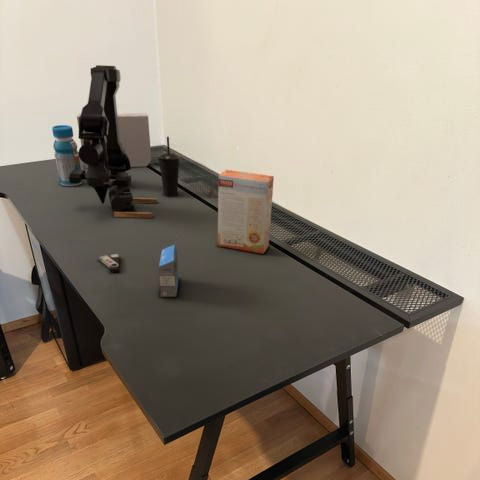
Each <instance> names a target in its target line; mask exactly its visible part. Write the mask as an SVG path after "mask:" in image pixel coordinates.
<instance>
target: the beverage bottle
mask: <svg viewBox="0 0 480 480" xmlns="http://www.w3.org/2000/svg"><path fill="white" fill-rule="evenodd" d="M51 130H52V137H53V138H54V139H55V140H54V142H53V147H52V148H53V150H54V158H55V163H56V168H57V173H58V178H59V183H60V185H62V186H64V187H78V186H80V185H82V184H83V181H84V180H82V179H81V182H80V183H79V184H78V183H69V178H68V177H69V174H70V173H71V172H72V171H73V170H74V169H76V170H82V168H81V159H80V158H79V154H78V152H79V150H78V144H77V143H76V141H75V140H74V138H73V137H74V130H73V126H71V125H67V124H58V125H54V126H52V128H51Z"/></svg>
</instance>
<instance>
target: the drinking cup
mask: <svg viewBox="0 0 480 480" xmlns="http://www.w3.org/2000/svg"><path fill="white" fill-rule="evenodd" d="M166 146H167V147H166V148H167V149H166V150H167V151H164V152H161V153H160V154H158V155H157V159H158V164H159V171H160V177H161V182H162V189H163V195H164V196H165V197H168V198H169V197H170V198H171V197H176V196H178V192H179V191H178V190H179V189H178V188H179V168H180V158H181V155H180V154H178V153H176V152H174V151H170V136H166Z"/></svg>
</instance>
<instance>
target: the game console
mask: <svg viewBox="0 0 480 480" xmlns="http://www.w3.org/2000/svg"><path fill="white" fill-rule="evenodd" d="M80 116H81V113H77V114H76V120H77V127H78V128H79V117H80ZM117 117H118V127H119V138H120V142H121V143H122V144H123V146H124V147H125V152H126V154H127V156H128V158H129V161H130V165H131V168H135V167H136V168H141V167H147V166H148V165H149V164H150V163H151V162H152V149H151V137H150V136H151V135H150V122H149V114H148V113H147V112H142V113H141V112H140V113H138V112H137V113H135V112H134V113H130V112H126V113H125V112H123V113H117ZM83 133H90V132H85V131H83ZM79 140H80V147H81V146H82V145H83V144H84V142H83V140H84V139H79ZM105 140H106V142H107V139H105ZM83 165H84V169H88V164H85V163H84V162H83Z"/></svg>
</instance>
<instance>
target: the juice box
mask: <svg viewBox="0 0 480 480" xmlns="http://www.w3.org/2000/svg"><path fill="white" fill-rule="evenodd" d="M177 240H178V235H177V234H176V236H175V240H174V241H175V242H174V244H173V245H170V246H167V247H165V248H162V249H161V253H160V258H159V264H158V273H159V274H158V275H159V289H160V297H161V298H176V297H177V294H178V288H179V269H178V268H179V267H178V250H177Z"/></svg>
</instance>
